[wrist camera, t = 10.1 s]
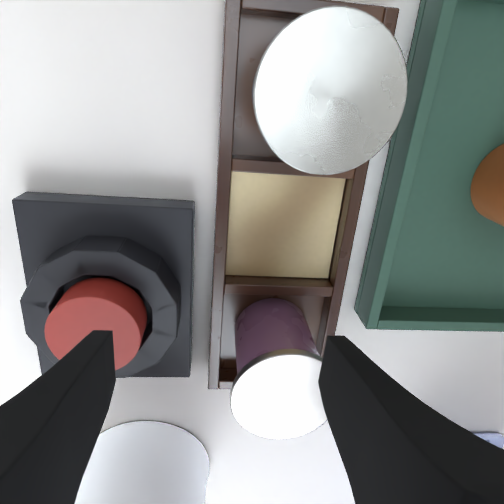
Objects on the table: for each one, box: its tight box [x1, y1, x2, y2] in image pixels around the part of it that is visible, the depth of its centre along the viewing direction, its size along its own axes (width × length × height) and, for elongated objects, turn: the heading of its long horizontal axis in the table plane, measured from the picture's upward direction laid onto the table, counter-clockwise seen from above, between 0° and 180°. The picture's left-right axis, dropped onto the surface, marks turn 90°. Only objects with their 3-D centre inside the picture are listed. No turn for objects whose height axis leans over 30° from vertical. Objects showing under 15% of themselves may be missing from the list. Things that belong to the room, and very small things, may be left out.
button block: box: [12, 192, 195, 378], centre depth 19 cm, size 10×8×3 cm
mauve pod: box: [230, 298, 328, 439], centre depth 20 cm, size 5×5×5 cm
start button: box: [44, 278, 147, 370], centre depth 17 cm, size 4×4×2 cm
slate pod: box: [252, 6, 408, 175], centre depth 15 cm, size 5×5×5 cm
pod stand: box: [208, 0, 399, 389], centre depth 19 cm, size 7×20×2 cm, turn 175°
